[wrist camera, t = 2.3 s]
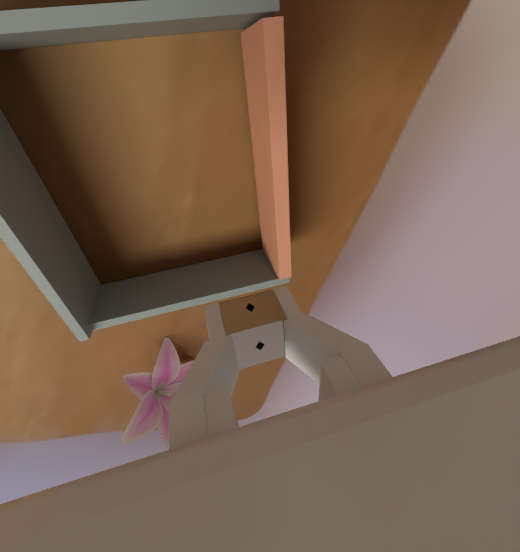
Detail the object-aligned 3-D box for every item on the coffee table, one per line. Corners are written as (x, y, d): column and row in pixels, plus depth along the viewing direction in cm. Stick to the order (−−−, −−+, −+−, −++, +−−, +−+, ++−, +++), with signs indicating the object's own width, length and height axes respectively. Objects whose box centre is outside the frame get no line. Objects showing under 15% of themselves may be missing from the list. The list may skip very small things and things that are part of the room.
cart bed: (-56, 37, 17) (-166, 16, 11) (252, 12, 20) (284, -15, 14) (96, 292, 29) (79, 341, 24) (271, 252, 32) (293, 288, 27)
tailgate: (240, 32, 20) (262, 17, 15) (256, 31, 20) (283, 16, 15) (262, 249, 31) (279, 279, 26) (272, 247, 31) (291, 277, 26)
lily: (203, 380, 44) (231, 413, 36) (131, 429, 39) (145, 480, 31) (175, 318, 40) (199, 340, 32) (89, 363, 35) (93, 402, 27)
